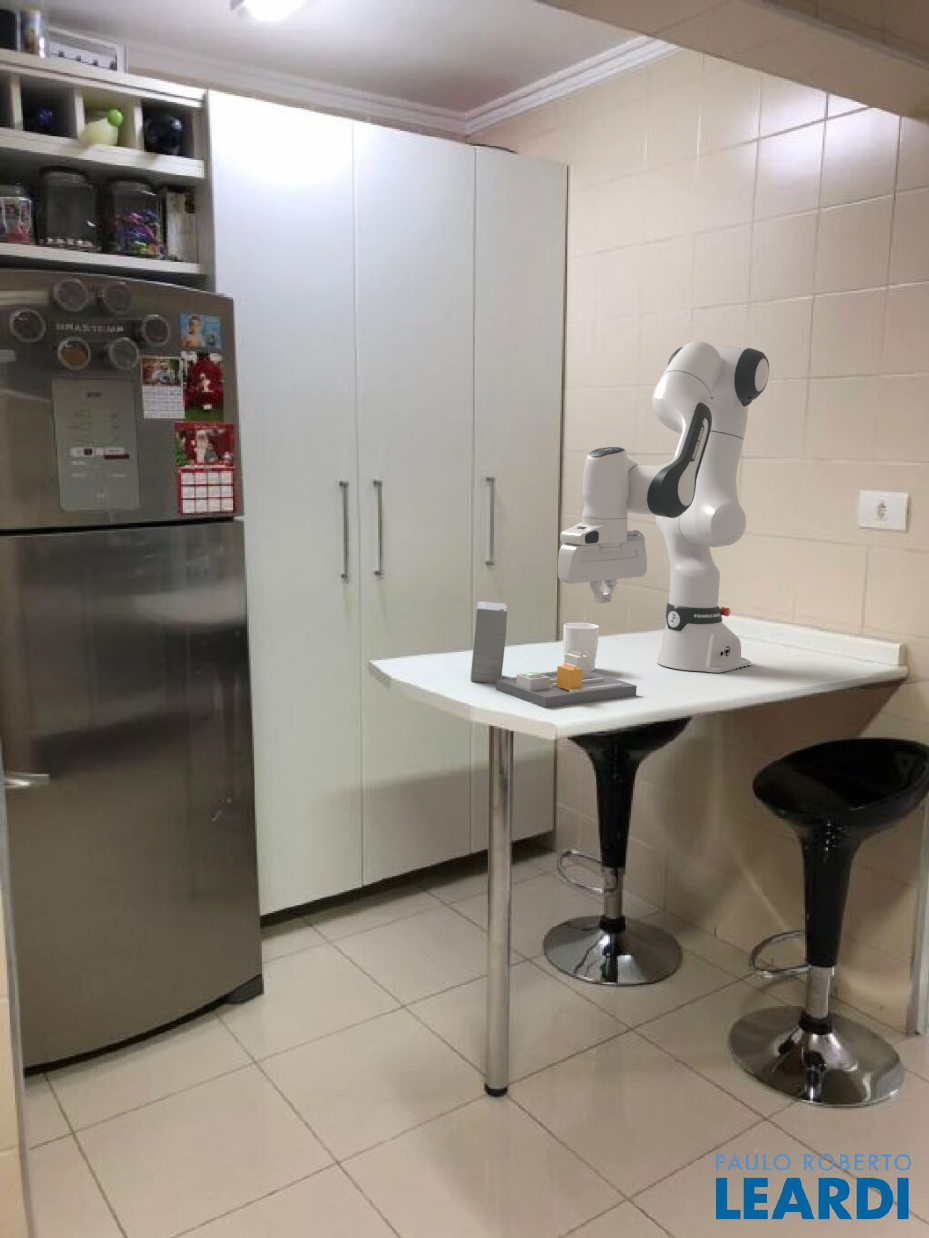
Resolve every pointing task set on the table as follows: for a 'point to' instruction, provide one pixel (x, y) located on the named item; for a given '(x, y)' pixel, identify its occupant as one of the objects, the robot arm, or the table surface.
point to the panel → (552, 695)
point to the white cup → (581, 640)
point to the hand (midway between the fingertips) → (602, 602)
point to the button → (533, 675)
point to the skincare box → (489, 642)
